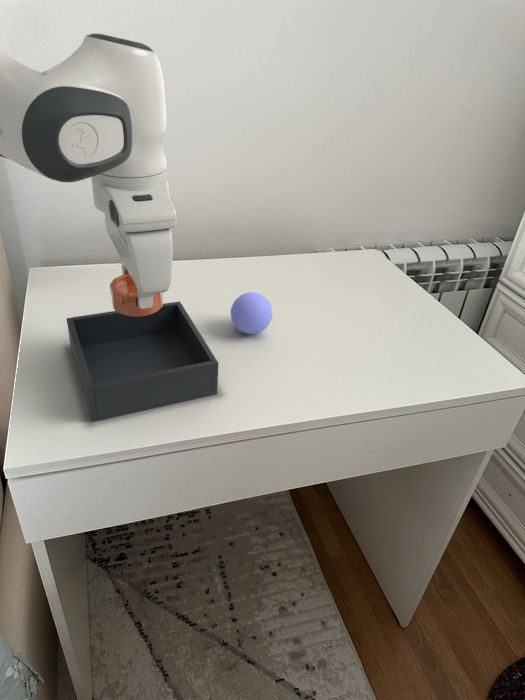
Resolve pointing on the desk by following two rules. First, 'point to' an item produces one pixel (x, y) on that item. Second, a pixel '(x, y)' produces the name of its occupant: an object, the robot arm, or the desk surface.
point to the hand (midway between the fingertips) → (137, 291)
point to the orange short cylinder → (131, 298)
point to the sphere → (251, 313)
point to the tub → (140, 360)
